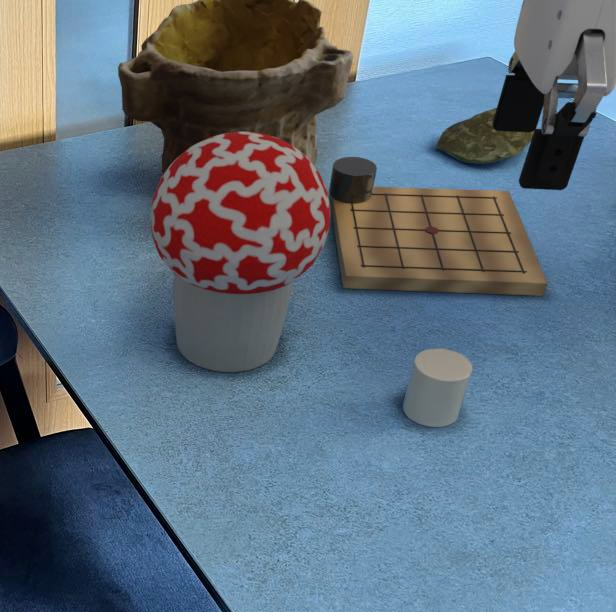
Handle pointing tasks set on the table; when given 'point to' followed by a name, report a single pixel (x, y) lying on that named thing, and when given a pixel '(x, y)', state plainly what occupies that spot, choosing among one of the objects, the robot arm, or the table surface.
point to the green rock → (482, 140)
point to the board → (435, 242)
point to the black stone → (352, 179)
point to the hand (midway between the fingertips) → (526, 157)
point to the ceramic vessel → (235, 74)
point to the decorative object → (237, 243)
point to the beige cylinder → (437, 387)
